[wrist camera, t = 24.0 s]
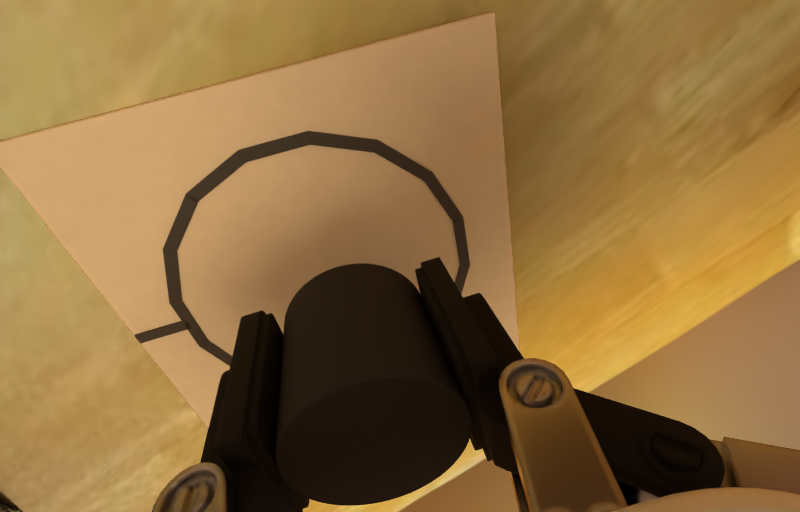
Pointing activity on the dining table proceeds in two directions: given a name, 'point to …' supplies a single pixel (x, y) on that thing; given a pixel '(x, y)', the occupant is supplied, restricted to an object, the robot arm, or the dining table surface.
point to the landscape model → (7, 509)
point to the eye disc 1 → (365, 390)
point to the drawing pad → (282, 190)
